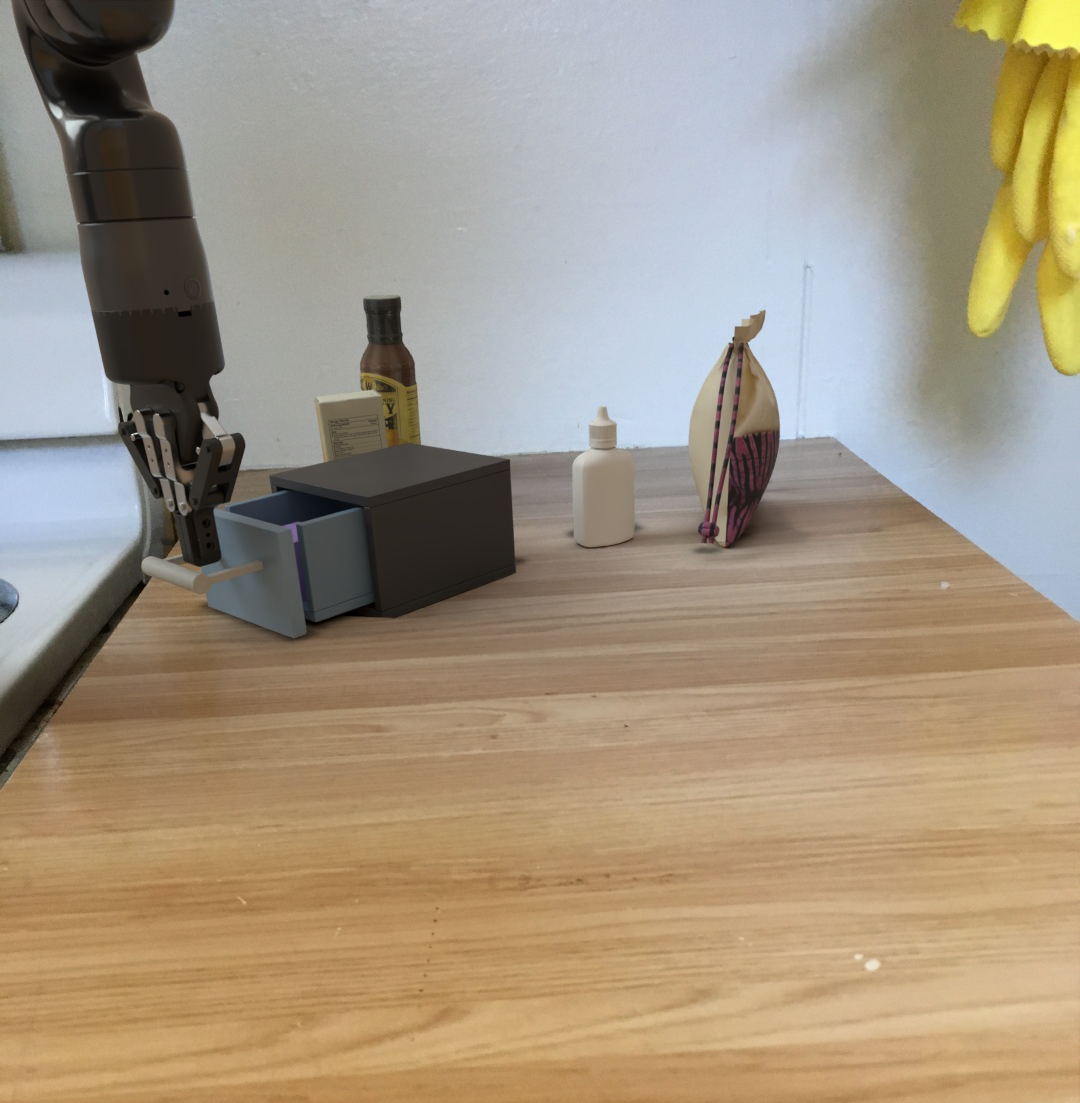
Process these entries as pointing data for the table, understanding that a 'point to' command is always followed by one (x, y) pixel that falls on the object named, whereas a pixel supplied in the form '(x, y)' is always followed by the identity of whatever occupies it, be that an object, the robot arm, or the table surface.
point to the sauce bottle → (390, 369)
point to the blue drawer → (281, 561)
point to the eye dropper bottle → (603, 488)
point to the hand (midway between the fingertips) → (203, 562)
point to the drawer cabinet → (421, 519)
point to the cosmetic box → (350, 424)
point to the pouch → (733, 437)
